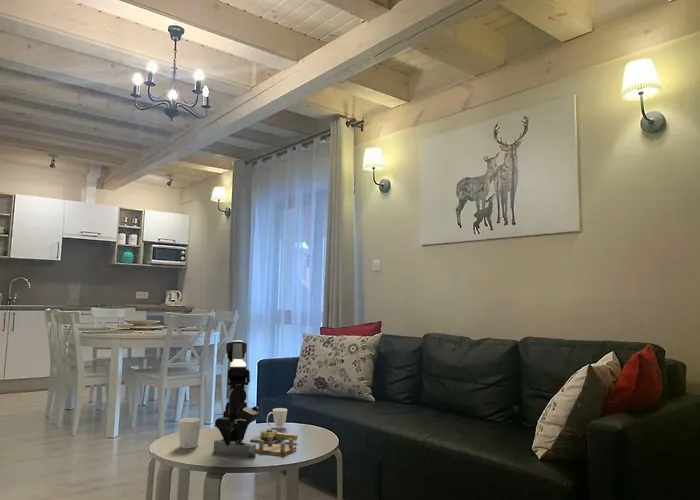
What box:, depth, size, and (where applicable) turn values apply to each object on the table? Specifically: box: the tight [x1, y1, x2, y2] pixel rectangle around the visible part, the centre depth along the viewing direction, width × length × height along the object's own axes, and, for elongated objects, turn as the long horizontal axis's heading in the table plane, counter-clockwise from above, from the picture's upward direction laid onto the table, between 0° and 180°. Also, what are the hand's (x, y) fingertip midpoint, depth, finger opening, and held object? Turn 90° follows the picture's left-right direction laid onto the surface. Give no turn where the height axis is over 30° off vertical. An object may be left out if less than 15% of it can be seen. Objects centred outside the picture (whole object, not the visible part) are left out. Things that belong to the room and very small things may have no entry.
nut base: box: [250, 434, 285, 445], centre depth 217 cm, size 11×11×1 cm
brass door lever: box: [260, 429, 298, 442], centre depth 216 cm, size 16×7×3 cm, turn 69°
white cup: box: [178, 417, 201, 449], centre depth 205 cm, size 8×8×10 cm
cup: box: [266, 407, 288, 429], centre depth 240 cm, size 7×10×8 cm
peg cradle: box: [256, 436, 297, 457], centre depth 200 cm, size 12×10×4 cm
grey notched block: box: [213, 439, 257, 459], centre depth 195 cm, size 18×4×4 cm, turn 69°
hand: (234, 442), depth 196 cm, fingers open, 9 cm apart
